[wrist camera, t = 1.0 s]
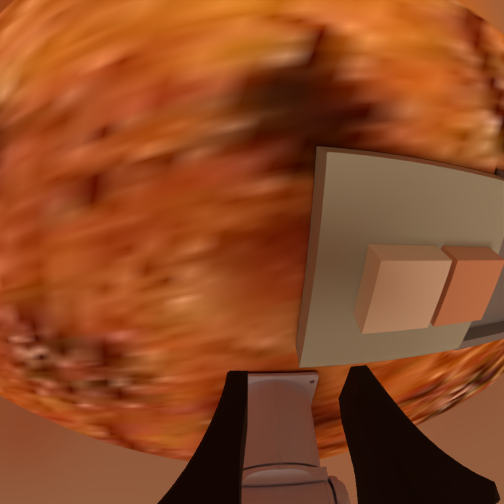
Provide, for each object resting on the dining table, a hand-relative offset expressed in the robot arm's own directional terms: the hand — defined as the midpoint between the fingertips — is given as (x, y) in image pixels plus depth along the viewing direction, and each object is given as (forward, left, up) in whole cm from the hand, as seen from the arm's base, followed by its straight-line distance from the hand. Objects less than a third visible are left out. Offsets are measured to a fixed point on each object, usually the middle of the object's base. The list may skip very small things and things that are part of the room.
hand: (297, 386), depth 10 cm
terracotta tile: (0, -13, -8) cm, 15 cm away
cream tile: (0, -8, -8) cm, 11 cm away
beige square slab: (0, -10, -10) cm, 14 cm away
